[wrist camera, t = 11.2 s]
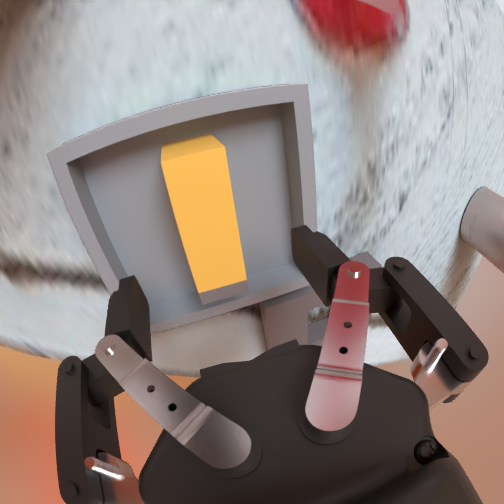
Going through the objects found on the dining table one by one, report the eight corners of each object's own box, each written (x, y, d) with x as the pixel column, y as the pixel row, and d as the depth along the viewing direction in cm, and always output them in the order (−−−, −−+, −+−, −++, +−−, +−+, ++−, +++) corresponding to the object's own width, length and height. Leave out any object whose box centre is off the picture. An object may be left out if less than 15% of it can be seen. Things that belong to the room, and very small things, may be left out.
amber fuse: (225, 146, 12) (249, 291, 17) (210, 133, 16) (231, 253, 21) (160, 162, 11) (202, 304, 17) (161, 144, 15) (193, 263, 20)
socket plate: (367, 251, 27) (381, 265, 25) (356, 315, 32) (367, 329, 30) (256, 289, 25) (265, 308, 23) (267, 350, 30) (274, 367, 28)
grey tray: (286, 83, 16) (307, 84, 13) (301, 261, 24) (316, 282, 22) (63, 143, 13) (46, 153, 11) (138, 311, 22) (138, 337, 20)
